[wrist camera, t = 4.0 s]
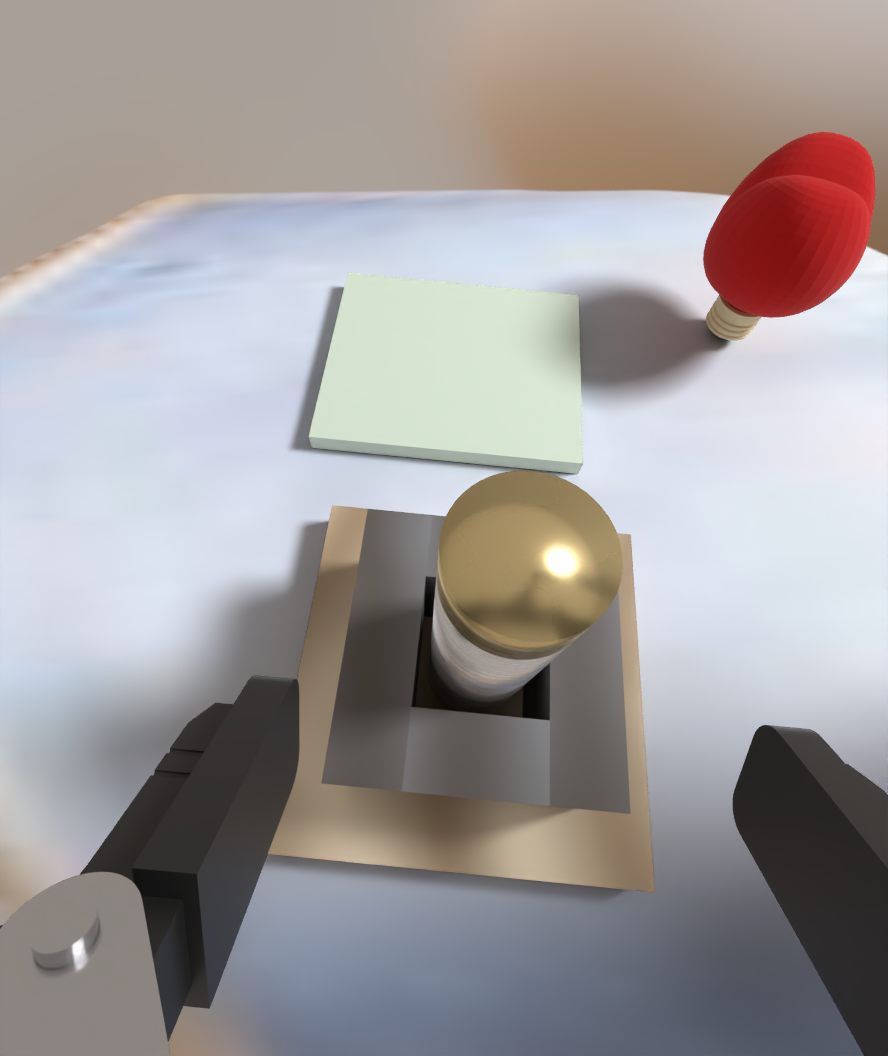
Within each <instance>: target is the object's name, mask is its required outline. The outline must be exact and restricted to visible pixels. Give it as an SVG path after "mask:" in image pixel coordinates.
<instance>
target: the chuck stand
mask: <svg viewBox="0 0 888 1056" xmlns="http://www.w3.org/2000/svg"><path fill="white" fill-rule="evenodd" d="M445 518H446V517H445V516H435V515H425V514H415V513H404V512H394V511H384V510H374V509H363V508H353V507H343V506H333V505H332V509H331V514H330V518H329V523H328V528H327V533H326V538H325V543H324V548H323V553H322V558H321V563H320V568H319V573H318V578H317V583H316V587H315V592H314V597H313V602H312V607H311V612H310V617H309V622H308V627H307V632H306V637H305V642H304V647H303V652H302V657H301V661H300V666H299V671H298V676H297V680H298V683H299V741H300V748H299V761H298V767H297V773H296V777H295V781H294V785H293V788H292V791H291V793H290V796H289V799H288V801H287V804H286V807H285V809H284V812H283V815H282V817H281V820H280V823H279V825H278V828H277V830H276V833H275V836H274V838H273V841H272V844H271V846H270V849H269V852H268V854H273V855H283V856H293V857H303V858H313V859H323V860H333V861H343V862H353V863H364V864H374V865H384V866H394V867H404V868H414V869H424V870H434V871H444V872H454V873H464V874H474V875H485V876H495V877H505V878H515V879H525V880H535V881H545V882H555V883H565V884H575V885H585V886H595V887H605V888H616V889H626V890H636V891H646V892H655V888H654V874H653V859H652V844H651V829H650V814H649V799H648V785H647V770H646V755H645V740H644V725H643V710H642V695H641V681H640V666H639V651H638V636H637V621H636V606H635V591H634V577H633V562H632V547H631V535H629V534H619V533H617V535H618V537H619V541H620V545H621V549H622V557H623V571H622V578H621V583H620V586H619V589H618V592H617V594H616V596H615V598H614V600H613V602H612V604H611V605H610V607H609V608H608V609H607V611H606V612H605V613H604V614H603V615H602V616H601V617H600V618H599V619H598V620H597V621H596V622H595V623H594V624H593V625H592V626H591V627H590V628H588V629H587V630H586V631H585V632H584V633H583V634H582V635H580V636H579V637H578V638H577V639H576V640H575V641H574V642H573V643H571V644H570V645H569V646H568V647H567V648H566V649H565V650H564V651H562V652H561V653H560V654H559V655H558V656H557V657H556V658H554V659H553V660H552V661H551V662H550V663H549V664H548V665H547V666H545V667H544V668H543V669H542V670H541V671H540V672H539V673H538V674H536V675H535V676H534V677H533V678H532V679H531V680H530V681H528V682H527V683H526V684H525V685H524V686H523V687H522V688H521V689H519V690H518V691H517V692H516V693H515V694H514V695H513V696H511V697H510V698H509V699H508V700H507V701H506V702H505V703H504V704H502V705H501V706H500V707H499V708H498V709H496V710H495V711H493V712H492V713H490V714H479V713H468V712H458V711H450V710H448V709H447V708H445V707H444V706H443V705H442V704H441V703H440V702H439V701H438V699H437V698H436V696H435V695H434V693H433V691H432V688H431V685H430V681H429V660H430V648H431V636H432V624H433V611H434V599H435V587H436V575H437V562H438V550H439V540H440V534H441V529H442V526H443V523H444V520H445Z"/></svg>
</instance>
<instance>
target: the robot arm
mask: <svg viewBox="0 0 888 1056" xmlns="http://www.w3.org/2000/svg"><path fill="white" fill-rule="evenodd" d="M299 748H300V741H299V683H298V680H297V679H288V678H278V677H267V676H256V675H254V676H252V677H251V678H250V679H249V681H248V682H247V684H246V685H245V687H244V689H243V690H242V692H241V693H240V695H239V697H238V698H237V700H236V701H235V703H234V705H233V704H222V703H215V704H214V705H212V706H211V707H209V708H208V709H207V710H205V711H204V712H203V713H201V714H200V715H198V716H197V717H196V718H194V719H193V720H192V721H190V722H189V723H188V724H187V725H186V727H185V728H184V730H183V731H182V733H181V734H180V735H179V737H178V738H177V740H176V741H175V742H174V744H173V745H172V747H171V748H170V752H169V753H167V754H166V755H165V756H164V758H163V759H162V761H161V762H160V763H159V765H158V766H157V768H156V769H155V773H154V775H153V776H150V778H149V779H148V780H147V782H146V783H145V785H144V786H143V787H142V789H141V790H140V792H139V793H138V794H137V796H136V797H135V799H134V800H133V801H132V803H131V804H130V806H129V807H128V808H127V810H126V811H125V813H124V814H123V816H122V817H121V818H120V820H119V821H118V823H117V824H116V825H115V827H114V828H113V830H112V831H111V832H110V834H109V835H108V837H107V838H106V839H105V841H104V842H103V844H102V845H101V846H100V848H99V849H98V851H97V852H96V854H95V855H94V856H93V858H92V859H91V861H90V862H89V863H88V865H87V866H86V867H85V868H84V870H83V871H82V872H81V873H80V875H78V876H74V877H72V878H69V879H66V880H63V881H61V882H59V883H57V884H55V885H53V886H51V887H49V888H47V889H46V890H44V891H42V892H41V893H39V894H37V895H36V896H35V897H33V898H32V899H31V900H29V901H28V902H27V903H25V904H24V905H23V906H22V907H21V908H20V909H18V910H17V911H16V912H15V913H14V914H13V915H12V916H11V917H10V918H9V919H8V920H7V922H6V923H5V924H4V925H1V926H0V1056H170V1051H169V1045H168V1041H169V1039H170V1036H171V1034H172V1031H173V1029H174V1027H175V1024H176V1022H177V1020H178V1017H179V1015H180V1012H181V1010H182V1008H183V1006H189V1007H200V1008H210V1006H211V1003H212V1001H213V998H214V995H215V993H216V990H217V987H218V985H219V982H220V979H221V977H222V974H223V971H224V969H225V966H226V963H227V961H228V958H229V955H230V953H231V950H232V947H233V945H234V942H235V939H236V937H237V934H238V931H239V929H240V926H241V923H242V921H243V918H244V916H245V913H246V910H247V908H248V905H249V902H250V900H251V897H252V894H253V892H254V889H255V886H256V884H257V881H258V878H259V876H260V873H261V870H262V868H263V865H264V862H265V860H266V857H267V854H268V852H269V849H270V846H271V844H272V841H273V838H274V836H275V833H276V830H277V828H278V825H279V823H280V820H281V817H282V815H283V812H284V809H285V807H286V804H287V801H288V799H289V796H290V793H291V791H292V788H293V785H294V781H295V777H296V773H297V767H298V761H299ZM733 814H734V819H735V823H736V826H737V828H738V831H739V833H740V835H741V837H742V839H743V840H744V842H745V844H746V846H747V847H748V849H749V851H750V853H751V855H752V856H753V858H754V860H755V862H756V863H757V865H758V867H759V869H760V871H761V872H762V874H763V876H764V878H765V880H766V881H767V883H768V885H769V887H770V888H771V890H772V892H773V894H774V896H775V897H776V899H777V901H778V903H779V904H780V906H781V908H782V910H783V912H784V913H785V915H786V917H787V919H788V920H789V922H790V924H791V926H792V928H793V929H794V931H795V933H796V935H797V937H798V938H799V940H800V942H801V944H802V945H803V947H804V949H805V951H806V953H807V954H808V956H809V958H810V960H811V961H812V963H813V965H814V967H815V969H816V970H817V972H818V974H819V976H820V978H821V979H822V981H823V983H824V985H825V986H826V988H827V990H828V992H829V994H830V995H831V997H832V999H833V1001H834V1002H835V1004H836V1006H837V1008H838V1010H839V1011H840V1013H841V1015H842V1017H843V1018H844V1020H845V1022H846V1024H847V1026H848V1027H849V1029H850V1031H851V1033H852V1035H853V1036H854V1038H855V1040H856V1042H857V1043H858V1045H859V1047H860V1049H861V1051H862V1052H863V1054H864V1056H888V795H887V794H886V793H885V791H884V790H882V789H881V788H880V787H878V786H877V785H875V784H874V783H873V782H871V781H870V780H869V779H867V778H866V777H865V776H863V775H862V774H860V773H859V772H858V771H856V770H855V769H854V768H852V767H851V766H849V765H848V764H845V763H844V762H843V761H842V760H841V758H840V757H839V756H838V755H837V754H836V753H835V752H834V751H833V750H832V748H831V747H830V746H829V745H828V744H827V743H826V742H825V741H824V740H823V739H822V737H821V736H820V735H819V734H817V733H816V732H815V731H813V730H810V729H802V728H791V727H781V726H770V725H763V726H761V727H759V728H758V729H757V731H756V732H755V734H754V737H753V739H752V742H751V745H750V748H749V751H748V754H747V756H746V759H745V762H744V765H743V768H742V771H741V773H740V776H739V779H738V782H737V785H736V788H735V790H734V794H733Z"/></svg>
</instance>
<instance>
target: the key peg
mask: <svg viewBox="0 0 888 1056" xmlns="http://www.w3.org/2000/svg"><path fill="white" fill-rule="evenodd" d="M622 571H623V557H622V549H621V545H620V541H619V537H618V535H617V532H616V530H615V527H614V525H613V524H612V522H611V520H610V518H609V517H608V515H607V514H606V513H605V511H604V510H603V509H602V507H601V506H600V505H599V504H598V503H597V502H596V501H595V500H594V499H593V498H592V497H591V496H590V495H588V494H587V493H586V492H585V491H583V490H582V489H580V488H579V487H577V486H576V485H574V484H572V483H570V482H568V481H566V480H564V479H562V478H559V477H557V476H554V475H550V474H546V473H542V472H535V471H510V472H505V473H500V474H497V475H493V476H490V477H488V478H486V479H484V480H481V481H479V482H478V483H476V484H475V485H473V486H471V487H470V488H469V489H468V490H466V491H465V492H464V493H463V494H462V495H461V496H460V497H459V498H458V499H457V500H456V501H455V503H454V504H453V506H452V507H451V509H450V510H449V512H448V514H447V516H446V518H445V520H444V523H443V526H442V529H441V534H440V540H439V550H438V562H437V575H436V587H435V599H434V611H433V624H432V636H431V648H430V660H429V681H430V685H431V688H432V691H433V693H434V695H435V696H436V698H437V699H438V701H439V702H440V703H441V704H442V705H443V706H444V707H445V708H447V709H448V710H450V711H458V712H468V713H479V714H490V713H492V712H493V711H495V710H496V709H498V708H499V707H500V706H501V705H502V704H504V703H505V702H506V701H507V700H508V699H509V698H510V697H511V696H513V695H514V694H515V693H516V692H517V691H518V690H519V689H521V688H522V687H523V686H524V685H525V684H526V683H527V682H528V681H530V680H531V679H532V678H533V677H534V676H535V675H536V674H538V673H539V672H540V671H541V670H542V669H543V668H544V667H545V666H547V665H548V664H549V663H550V662H551V661H552V660H553V659H554V658H556V657H557V656H558V655H559V654H560V653H561V652H562V651H564V650H565V649H566V648H567V647H568V646H569V645H570V644H571V643H573V642H574V641H575V640H576V639H577V638H578V637H579V636H580V635H582V634H583V633H584V632H585V631H586V630H587V629H588V628H590V627H591V626H592V625H593V624H594V623H595V622H596V621H597V620H598V619H599V618H600V617H601V616H602V615H603V614H604V613H605V612H606V611H607V609H608V608H609V607H610V605H611V604H612V602H613V600H614V598H615V596H616V594H617V592H618V589H619V586H620V583H621V578H622Z"/></svg>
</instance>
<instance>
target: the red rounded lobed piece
mask: <svg viewBox="0 0 888 1056" xmlns="http://www.w3.org/2000/svg"><path fill="white" fill-rule="evenodd" d="M874 200H875V173H874V167H873V164H872V160H871V157H870V155H869V154H868V152H867V150H866V149H865V148H864V147H863V146H862V145H861V144H860V143H859V142H857V141H855V140H853V139H851V138H849V137H846V136H843V135H840V134H836V133H828V132H819V133H813V134H808V135H805V136H803V137H801V138H798V139H796V140H793V141H791V142H789V143H788V144H786V145H785V146H783V147H782V148H780V149H779V150H777V151H776V152H774V153H773V154H771V155H770V156H769V157H767V158H766V159H765V160H764V161H763V162H761V163H760V164H759V165H758V166H757V167H756V168H755V169H754V170H753V171H752V172H751V173H750V174H749V175H748V176H747V177H746V178H745V179H744V180H743V181H742V182H741V184H740V185H739V186H738V187H737V189H736V190H735V191H734V192H733V194H732V195H731V196H730V198H729V199H728V200H727V202H726V203H725V205H724V206H723V208H722V210H721V211H720V213H719V215H718V217H717V219H716V221H715V222H714V224H713V226H712V228H711V230H710V232H709V235H708V238H707V240H706V244H705V249H704V257H703V261H704V269H705V273H706V276H707V279H708V281H709V282H710V284H711V286H712V287H713V288H714V289H715V290H716V291H717V292H718V293H719V296H718V298H717V300H716V301H715V302H714V304H713V306H712V307H711V309H710V311H709V312H708V314H707V316H706V323H707V326H708V328H709V329H710V330H711V331H712V332H713V333H714V335H715V336H716V337H717V338H719V339H726V340H741V339H743V338H745V337H746V336H747V335H749V333H750V331H751V330H752V329H753V328H754V326H755V325H756V324H757V322H758V321H759V319H760V318H761V317H785V316H790V315H795V314H798V313H801V312H803V311H806V310H808V309H811V308H813V307H815V306H817V305H818V304H820V303H822V302H823V301H825V300H826V299H827V298H828V297H830V296H831V295H832V294H834V293H835V292H836V291H837V290H838V289H839V288H840V287H842V285H843V284H844V283H845V282H846V281H847V280H848V279H849V277H850V276H851V275H852V273H853V272H854V270H855V269H856V267H857V265H858V264H859V262H860V260H861V258H862V256H863V253H864V251H865V249H866V246H867V243H868V239H869V234H870V223H871V220H872V215H873V209H874Z"/></svg>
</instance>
